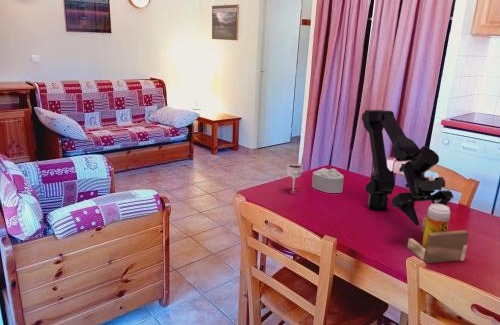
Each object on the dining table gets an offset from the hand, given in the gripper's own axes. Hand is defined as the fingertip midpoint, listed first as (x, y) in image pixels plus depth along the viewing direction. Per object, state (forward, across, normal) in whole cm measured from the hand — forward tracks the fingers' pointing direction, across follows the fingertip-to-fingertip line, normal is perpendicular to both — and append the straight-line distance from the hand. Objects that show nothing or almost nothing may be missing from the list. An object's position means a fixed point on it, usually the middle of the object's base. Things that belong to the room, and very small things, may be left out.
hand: (430, 224), depth 119 cm
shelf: (+5, 0, +6) cm, 8 cm away
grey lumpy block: (-30, -11, +43) cm, 54 cm away
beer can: (+8, 0, +4) cm, 9 cm away
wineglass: (-29, -28, +42) cm, 59 cm away
